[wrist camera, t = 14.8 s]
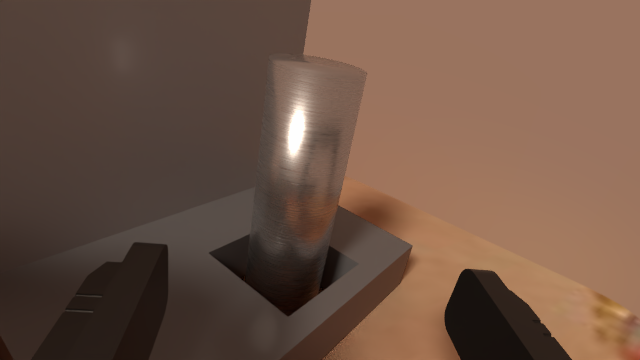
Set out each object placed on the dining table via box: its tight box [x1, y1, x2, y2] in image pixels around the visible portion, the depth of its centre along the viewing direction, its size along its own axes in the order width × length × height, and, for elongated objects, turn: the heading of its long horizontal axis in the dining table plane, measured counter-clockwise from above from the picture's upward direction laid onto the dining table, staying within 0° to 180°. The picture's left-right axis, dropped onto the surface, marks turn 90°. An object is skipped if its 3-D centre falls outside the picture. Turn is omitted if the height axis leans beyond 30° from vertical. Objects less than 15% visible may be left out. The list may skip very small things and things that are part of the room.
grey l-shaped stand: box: [0, 0, 412, 360], centre depth 17 cm, size 12×18×16 cm, turn 141°
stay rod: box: [245, 53, 367, 317], centre depth 18 cm, size 4×4×13 cm
